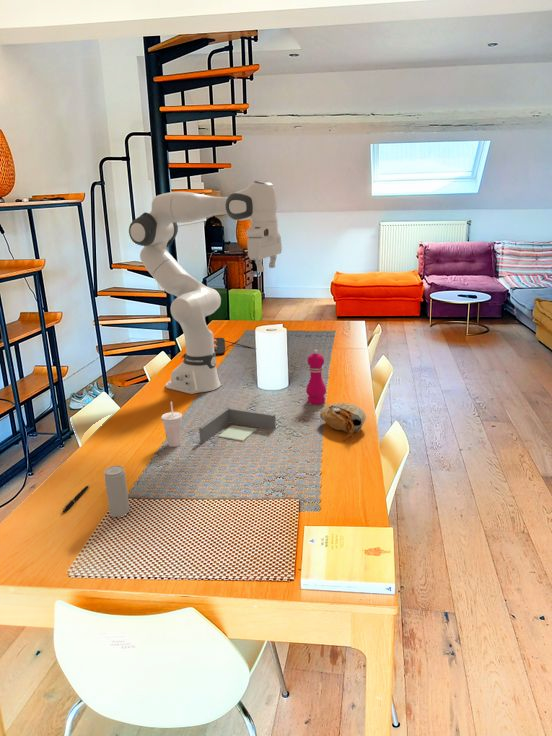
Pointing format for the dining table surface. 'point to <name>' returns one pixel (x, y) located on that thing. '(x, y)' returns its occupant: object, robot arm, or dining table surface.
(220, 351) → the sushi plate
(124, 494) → the beverage can
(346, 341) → the dining table surface
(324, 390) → the pepper mill
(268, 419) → the grey corner wall
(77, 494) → the fountain pen
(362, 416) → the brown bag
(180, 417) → the smoothie
